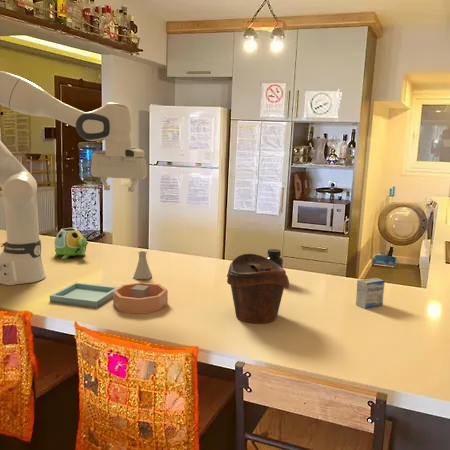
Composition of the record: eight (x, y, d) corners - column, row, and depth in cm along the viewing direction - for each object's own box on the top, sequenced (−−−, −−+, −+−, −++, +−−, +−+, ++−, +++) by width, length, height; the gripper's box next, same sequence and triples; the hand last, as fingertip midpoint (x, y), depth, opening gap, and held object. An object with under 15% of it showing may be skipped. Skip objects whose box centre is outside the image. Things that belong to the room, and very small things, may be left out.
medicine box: (364, 309, 160) (366, 283, 159) (355, 304, 164) (357, 279, 163) (382, 305, 164) (385, 280, 162) (373, 301, 168) (375, 276, 166)
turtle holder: (73, 263, 207) (72, 235, 204) (48, 255, 218) (47, 229, 215) (97, 257, 216) (97, 230, 214) (73, 250, 227) (72, 225, 225)
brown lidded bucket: (273, 333, 139) (275, 271, 136) (213, 318, 150) (214, 260, 147) (298, 315, 154) (301, 259, 151) (243, 302, 165) (244, 250, 162)
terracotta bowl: (105, 309, 155) (105, 295, 154) (129, 293, 170) (129, 280, 169) (153, 315, 151) (153, 301, 150) (172, 299, 166) (172, 285, 165)
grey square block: (131, 303, 159) (130, 288, 158) (137, 299, 163) (137, 284, 162) (143, 305, 158) (143, 290, 157) (149, 300, 162) (149, 286, 161)
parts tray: (49, 301, 161) (49, 295, 161) (75, 287, 175) (75, 282, 175) (96, 307, 156) (96, 301, 156) (119, 293, 171) (119, 287, 170)
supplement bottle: (274, 285, 183) (276, 253, 181) (260, 281, 187) (261, 250, 185) (285, 281, 188) (287, 250, 186) (271, 277, 192) (272, 247, 190)
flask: (148, 281, 185) (148, 254, 183) (130, 279, 186) (129, 253, 185) (155, 275, 192) (154, 250, 190) (137, 274, 193) (137, 249, 191)
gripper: (86, 150, 171) (87, 190, 174) (141, 152, 166) (141, 193, 169) (96, 149, 177) (97, 188, 180) (149, 151, 172) (149, 191, 175)
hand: (119, 190), depth 174 cm, fingers open, 8 cm apart
